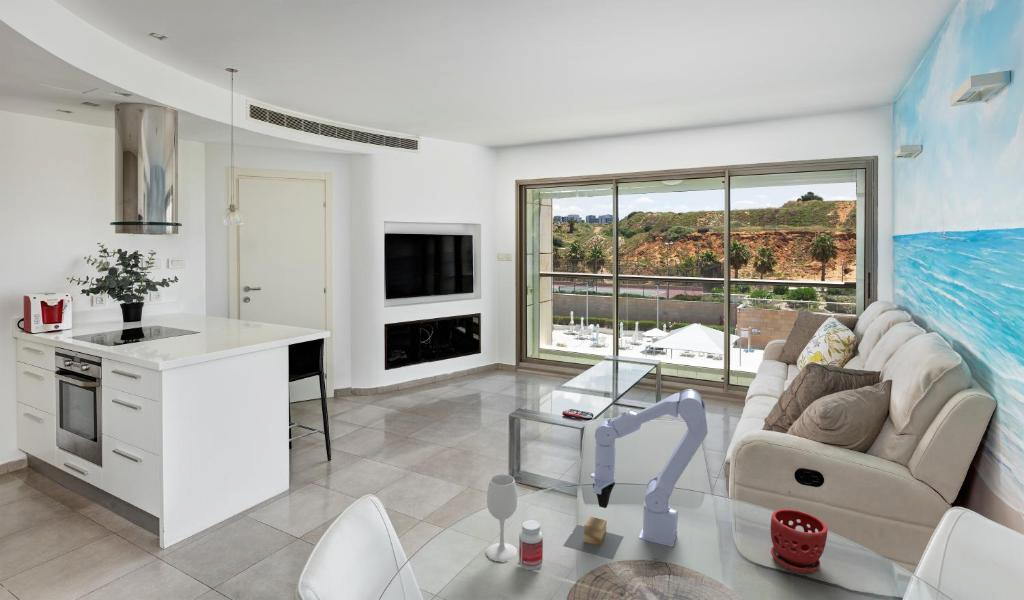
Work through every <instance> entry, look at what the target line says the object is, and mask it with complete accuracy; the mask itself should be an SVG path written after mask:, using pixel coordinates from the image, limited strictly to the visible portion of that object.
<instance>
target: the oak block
mask: <svg viewBox="0 0 1024 600" xmlns="http://www.w3.org/2000/svg"><path fill="white" fill-rule="evenodd" d="M607 522H608V521H607V520H606V519H603V518H597V517H594V516H589V517H588V518H587V520H586V521H585V523H584V524H583V526H584V542H588V543H591V544H595V545H599V546H601V545H602V543H603V542H604V540H605V538H606V532H607Z"/></svg>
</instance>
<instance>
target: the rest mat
mask: <svg viewBox="0 0 1024 600" xmlns="http://www.w3.org/2000/svg"><path fill="white" fill-rule="evenodd" d="M572 532H573V533H572ZM572 532H571V533H572V534H571V533H570V535H569V536H568V538H567V540H566V541H564V544H563V545H562V547H565V548H570V549H573V550H576V551H580V552H585V553H589V554H592V555H596V556H600V557H602V558H605V559H610V560H613V559H614V557H616V556H615V555H616V553H617V551H618V549H619V547H620V545H621V544H622V541H623V540H624V538H625V537H624V535H619V534H616V533H611V532H607V531H606V538H605V540H604V542H603V543H602V545H601V546H599V545H595V544H591V543H588V542H584V525H581V524H580V525H579V524H576V526H575V527H574V528H573V530H572Z"/></svg>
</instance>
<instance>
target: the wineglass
mask: <svg viewBox="0 0 1024 600" xmlns="http://www.w3.org/2000/svg"><path fill="white" fill-rule="evenodd" d="M487 487H488V488H487V492H486V494H487V495H486V505H487V509H488V512H489V513H490V514H491V516H492V517H493V518H494V519H497V520H498V521H499V530H500V532H499V533H500V534H499V542H497V543H496V542H495V543H493V544H491V545H489V546H490V547H489V546H488V547H487V548H488V549H486V550H485V554H486V557H487V556H488V557H489V558H488V557H487V558H488V560H491V559H492V560H491V561H493V560H494V561H493V562H496V561H506V560H507V561H510V560H512V559H514V558H516V556H517V554H518V550H517V548H516V546H514V545H512V544H510V543H507V542H505V538H504V537H505V535H504V533H505V532H504V530H505V529H504V528H505V521H506V520H507V519H510V517H512V516H513V515H514V513H515V512H516V510H517V507H518V490H517V483H516V480H515V478H514V477H513V476H512V475H509V474H504V473H503V474H502V473H501V474H495V475H493V476H492V477H491V478H489V482H488V486H487Z"/></svg>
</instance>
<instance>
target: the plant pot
mask: <svg viewBox="0 0 1024 600" xmlns="http://www.w3.org/2000/svg"><path fill="white" fill-rule="evenodd" d="M797 520H799V522H798V521H797ZM781 521H782V522H781ZM790 521H791V522H792V524H790ZM797 527H801V528H802V529H803V531H801V530H797ZM816 530H817V532H816ZM809 531H810V532H809ZM828 531H829V529H828V526H827V525H826V524H825V523H824V522H823V520H821V519H819V518H818V517H816V516H814V515H812V514H809V513H807V512H803V511H800V510H795V509H789V508H786V509H785V508H783V509H777V510H774V511H773V512H772V514H771V519H770V538H771V543H772V545H773V546H772V547H771V550H770V553H771V556H772V558H773V559H774V560H775V562H776V563H778V564H779V565H781V566H782V567H784V568H785V569H787V570H788V571H793V572H797V573H800V574H801V573H803V574H809V573H813V572H816V571H818V569H819V568H820V567H821V561H820V558H821V557H822V556H823V555H822V554H823V553H824V552H825V551H824V550H825V547H826V542H827V538H828Z"/></svg>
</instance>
